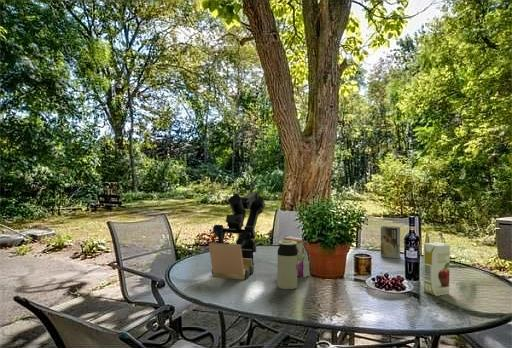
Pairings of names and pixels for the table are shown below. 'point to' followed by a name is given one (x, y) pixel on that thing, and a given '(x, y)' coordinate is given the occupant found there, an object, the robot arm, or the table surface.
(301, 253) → the spray bottle
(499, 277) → the table surface
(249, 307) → the table surface
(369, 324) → the table surface
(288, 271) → the travel mug
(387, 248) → the coffee box
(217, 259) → the tailgate
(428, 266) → the juice carton
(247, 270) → the cart bed
